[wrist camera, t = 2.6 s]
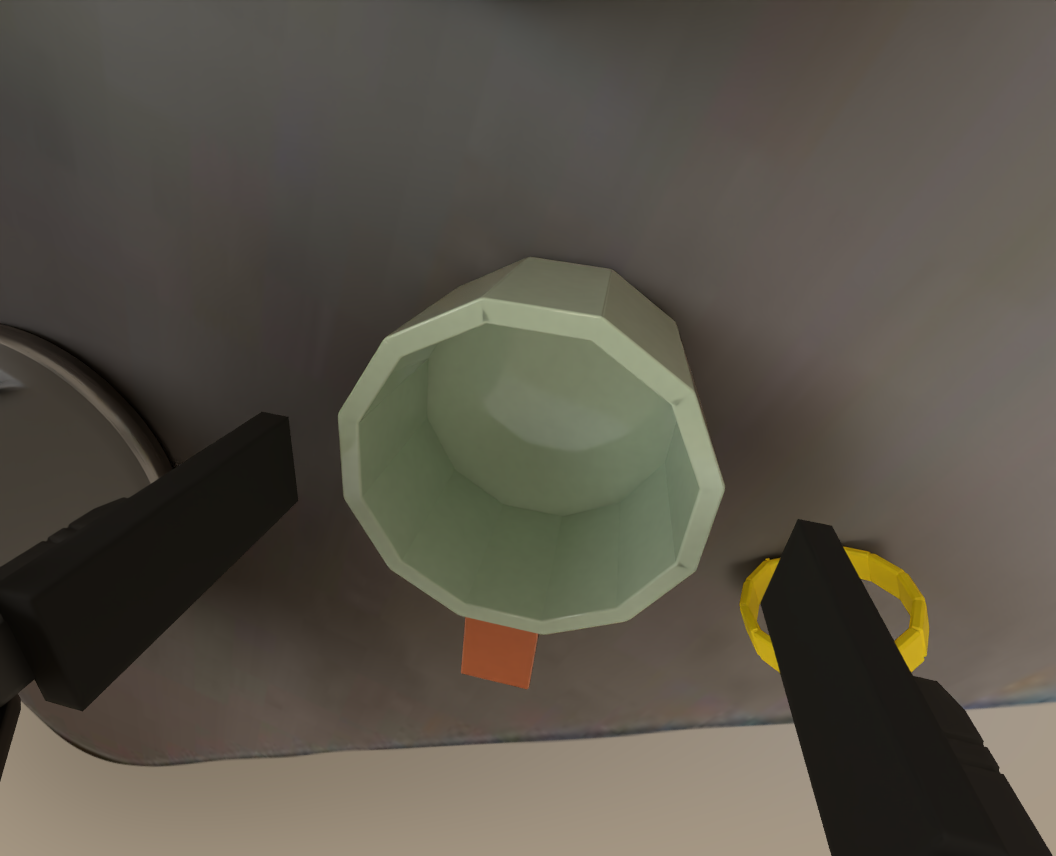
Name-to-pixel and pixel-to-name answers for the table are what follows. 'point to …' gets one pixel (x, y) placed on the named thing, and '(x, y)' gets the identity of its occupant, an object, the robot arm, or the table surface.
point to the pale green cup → (533, 457)
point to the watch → (867, 568)
